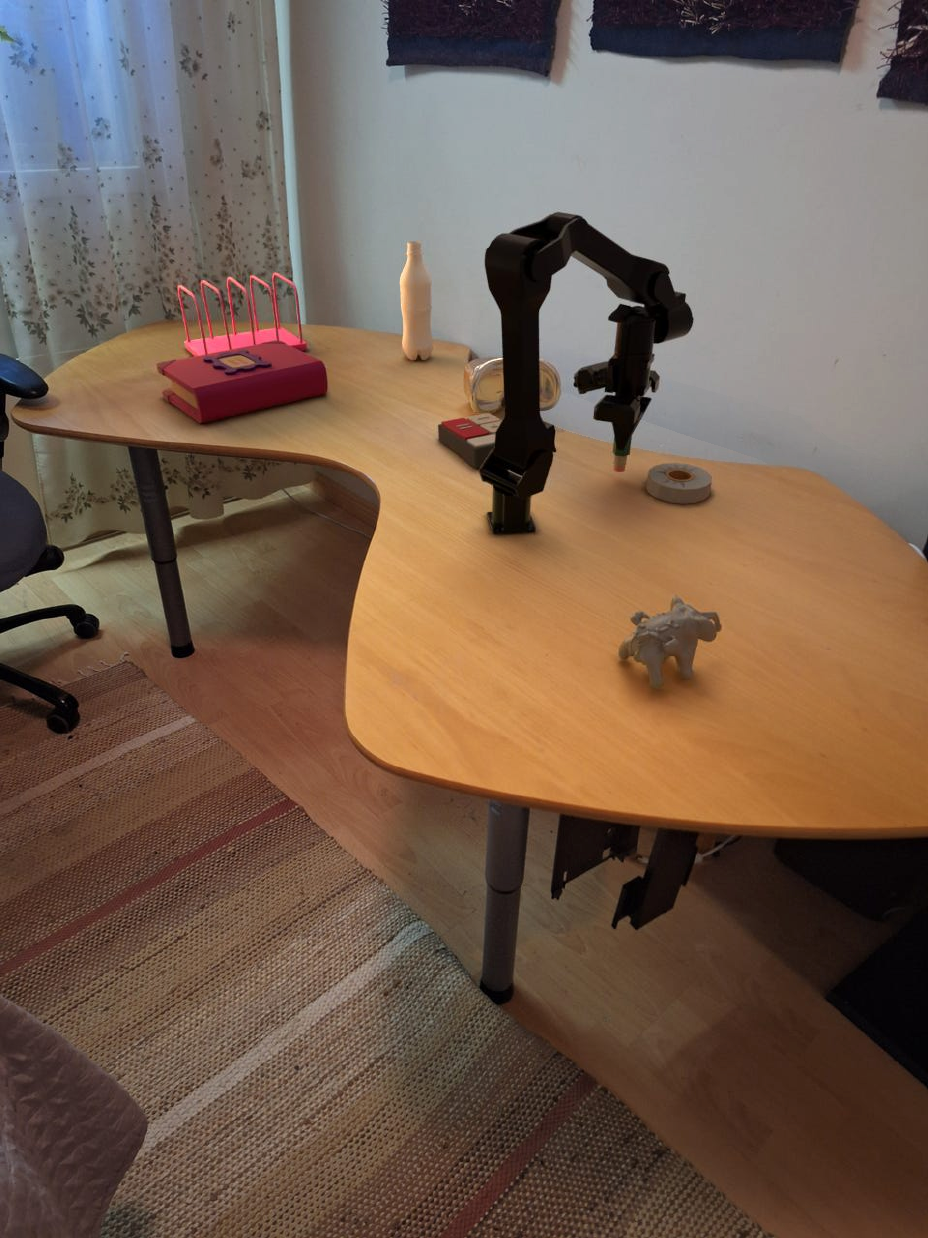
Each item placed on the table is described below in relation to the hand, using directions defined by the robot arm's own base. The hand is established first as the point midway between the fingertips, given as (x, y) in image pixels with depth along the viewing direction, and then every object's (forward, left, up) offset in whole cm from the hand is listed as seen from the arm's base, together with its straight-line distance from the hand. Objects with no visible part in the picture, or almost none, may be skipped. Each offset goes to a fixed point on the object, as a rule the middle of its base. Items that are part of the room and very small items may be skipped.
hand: (622, 446), depth 130 cm
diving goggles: (+35, +13, -6) cm, 38 cm away
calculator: (+16, +21, -6) cm, 27 cm away
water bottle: (+72, +28, -6) cm, 77 cm away
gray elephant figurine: (-49, +9, -6) cm, 50 cm away
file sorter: (+84, +69, -6) cm, 109 cm away
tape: (-5, -8, -6) cm, 11 cm away
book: (+50, +66, -6) cm, 83 cm away
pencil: (0, 0, -4) cm, 4 cm away
